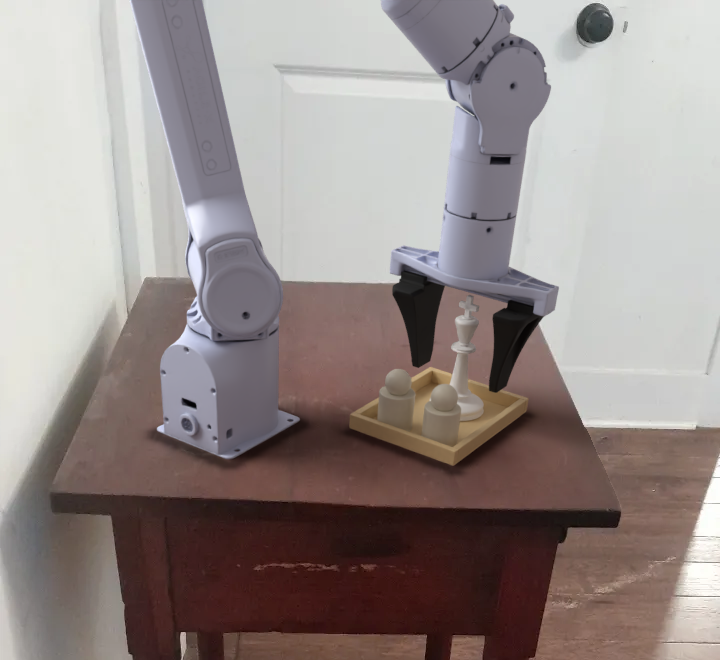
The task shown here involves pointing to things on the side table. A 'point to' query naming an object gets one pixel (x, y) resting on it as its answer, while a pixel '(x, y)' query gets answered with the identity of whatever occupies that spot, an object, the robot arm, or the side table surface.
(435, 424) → the pawn
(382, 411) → the pawn
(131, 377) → the side table surface
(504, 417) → the chess tray
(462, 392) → the chess piece
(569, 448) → the side table surface
